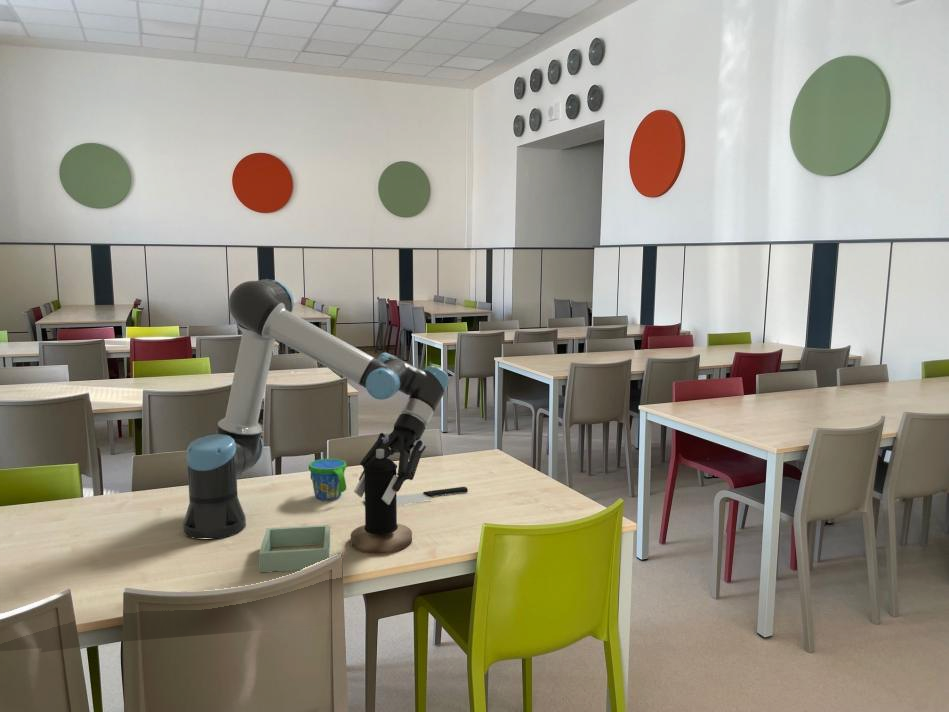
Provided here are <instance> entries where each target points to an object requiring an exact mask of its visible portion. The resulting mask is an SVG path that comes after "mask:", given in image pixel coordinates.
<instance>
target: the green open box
mask: <svg viewBox="0 0 949 712" xmlns="http://www.w3.org/2000/svg"><path fill="white" fill-rule="evenodd" d="M330 525H331V524H318V525H304V526H303V525H300V526H284V527H267V528H266V529H265V532H264V535H263V539H262V543H261V544H260V549H259V551H258V567H259V571H258V572H259V574H261V573H260V572H267V573H272V572H271V571H282V572H293V571H294V572H295V571H302V570H301V569H303V568H305V567H308V566H310V565H313V564H315V563H317V562H320V561H322V560H325V559H327V558H329V559H330V552H331V551H330V550H331V526H330ZM313 545H314V546H315V545H323V547H319V548H318V547H317V548H301V549H283V550H270V549H272V548H282V547H297V546H300V547H301V546H313ZM269 571H270V572H269Z"/></svg>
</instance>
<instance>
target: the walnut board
mask: <svg viewBox="0 0 949 712" xmlns="http://www.w3.org/2000/svg"><path fill="white" fill-rule="evenodd" d="M397 525H398V528H397V530H396V531H394V532H392V533H388V534H381V535H377V534H371V533H368V532H366V531H365V529H364V527H365V524H364V525H361V526H358V527H357V528H355V529H353V530H352V532H350V545H351V547H352V548H353V549H354V550H355V551H357V552H361V553H364V554H369V555H370V554H372V555H384V554H392V553H397V552H400V551H403V550H405V549H407V548H408V547H409V546H410V545H411V544H412V543H413V532H412V529H411V528H410V527H409V526H407V525H405V524H400V523H397Z"/></svg>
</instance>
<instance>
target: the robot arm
mask: <svg viewBox="0 0 949 712" xmlns="http://www.w3.org/2000/svg"><path fill="white" fill-rule="evenodd" d="M290 290H291V289H289V288H288V286H287V285H285V284H284V283H283V282H281V281H278V280H276V279H275V280H274V279H268V278H265V279H261V280H259V279H258V280H248V281H244V282H242V283H240V284H239V285H237V286H236V287H235V288H234V289H233V290H232V291H231V294H230V295H229V298H228V309H229V312H230V315H231V316H232V319H234V321H236V322H237V328H239V330H240V331H241V339H240V341H239V342H240V343H239V348H238V353H237V357H236V358H237V359H236V363H235V367H234V374H233V378H232V382H231V388H230V393H229V396H228V401H227V402H228V403H227V407H226V411H225V416H224V418H222V419H220V420H219V421H218V422H217V427H216V431H215V434H210V435H209V434H208V435H206V436H201V437H198V438H196V439H194V440H192V441H191V442H190V443H189V445H188V446H187V448H186V449H187V450H186V459H185V460H186V461H185V462H186V465H187V480H188V495H189V496H188V497H189V501H188V502H189V503H188V507H187V510H186V514H185V516H184V519H183V534H184V533H185V534H186V535H187V536H189V537H188V538H190V537H194V538H217V539H221V538H220V537H223V538H226V536H227V537H230V535H231V536H234V535H236V534H238V533H240V532H242V531H243V530H245V528H246V526H247V518H246V515H245V512H244V509H243V507H242V505H241V502H240V499H239V496H238V477H240V476H241V475H242V474H244V473H245V472H246V471H248V470H249V469H251V468H253V467H254V466H255V465H256V464H257V463H258V461H259V460H260V458H261V456H262V455H263V452H264V441H263V438H262V431H263V427H262V426H261V425H260V424H259V419H260V414H261V409H262V404H263V399H264V395H265V389H266V386H267V381H268V375H269V371H270V366H271V360H272V358H273V357H272V356H273V352H274V347H275V342H276V341H278V342H280V343H282V344H284V345H286V346H287V347H289V348H291V349H292V350H295V351H296V352H299V353H300V354H302V355H304V356H306V357H307V358H309V359H312V360H313V361H315V362H317V363H318V364H321V365H323V366H324V367H326V368H328V369H330V370H332V371H333V372H335V373H337V374H340V375H341V376H343V377H344V378H346V379H348V380H350V381H352V382H354V383H355V384H358V385H360V387H361V386H362V387H363V388H365V389H366V392H367V393H368V395H370V396H371V397H372V398H373V399H375V400H380V401H381V400H386V399H389V398H392V397H393V396H395V395H396V394H397V393H398V392H401V393H403V394H405V395H407V396H409V397H408V398H407V401H406V403H405V404H404V407H403V408H402V409H401V411H400V412H401V413H400V414H399V416H398V418H397V419H396V420H395V422H394V425H393V430H392V431H391V432H390V433H389V434H384V432H381V433H379V435H378V437H377V440H376V441H375V442H374V444H373V445H372V447H371V448H370V450H369V451H368V452H367V453H366V454H365V456H363V458H362V460H361V461H360V463H359V465H361V466H362V467H364V465H366V463H367V462H368V461H369V460H371V459H374V458H376V450H377V449H384V457H385V458H388V459H389V457H390V456H393V455H394V454H395V453H397V454H398V453H399V458H398V460H399V461H398V466H397V472H396V475H394V476H393V478H392V480H391V482H390V484H389V486H388V488H387V489H386V491H385V493H384V495H383V497H382V500H383V501H384V502H385V503H386V504H388V505H390V503H391V501H392V499H393V497H394V495H395V493H396V494H397V493H398V492H399V491H401V488H402V486H403V483H404V482H405V481H408V480H409V481H412V480H414V478H415V475H416V472H417V468H418V465H419V463H420V459H421V457H422V454H423V453H424V451H425V449H426V447H427V446H426V445H425V443H424V442H423V441H422V440H421V438H422V436H423V434H424V432H425V430H426V427H427V426H428V425H429V422H430V421H431V419H432V417H433V415H434V413H435V412H436V410H437V407H438V406H439V404H440V402H441V400H442V398H443V396H444V395H445V392H446V390H447V388H448V386H449V384H450V377H449V375H448V374H447V372H446V371H445V370H443V369H442V368H441V367H437V366H434V365H428V366H426V367H425V368H424V369H423V370H422V369H421V368H418V367H416V366H414V365H412V364H410V363H408V362H406V361H404V360H402V359H401V358H399V357H397V356H396V355H392V354H390V353H388V352H382V353H380V355H379V356H378V358H377V359H376V358H375V357H373V356H372V355H370V354H368V353H366V352H364V351H362V350H361V349H359V348H357V347H355V346H353V345H351V344H350V343H348V342H347V341H344V340H342V339H341V338H339V337H337V336H335V335H333V334H331V333H329V332H327V331H325V330H324V329H322V328H320V327H318V326H317V325H315V324H314V323H311V322H309V321H307V320H306V319H304V318H302V317H300V316H298V315H296V314H295V313H292V312H293V311H294V307H295V302H294V297H293V294H292V292H291V291H290ZM353 492H354V494H356V495H357V496H358V497H359V498H363V496H364V495H365V473H364V470H363V471H362V472H361V474H360V476H359V478H358V483H357V484H356V487H355V488H354V490H353ZM185 534H184V535H185ZM233 534H234V535H233ZM186 535H185V536H186ZM187 536H186V537H187ZM194 538H193V539H194Z"/></svg>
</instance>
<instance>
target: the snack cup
mask: <svg viewBox="0 0 949 712" xmlns="http://www.w3.org/2000/svg"><path fill="white" fill-rule="evenodd" d="M347 467H348V466H347V463H346V461H345V460H342V459H341V458H340V459H339V458H322V459H316V460H313V461H311V462H310V463H309V464H308V470H309V472H310V475H309V476H310V480H311V481H312V488H313V493H314V497H315V498H316V499H317V500H321V501H334V500H337V499H339V498H340V497H341V496H342V494H343V493H344V492H345V491H346V490H347V482H346V478H345V471H346V468H347Z"/></svg>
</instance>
